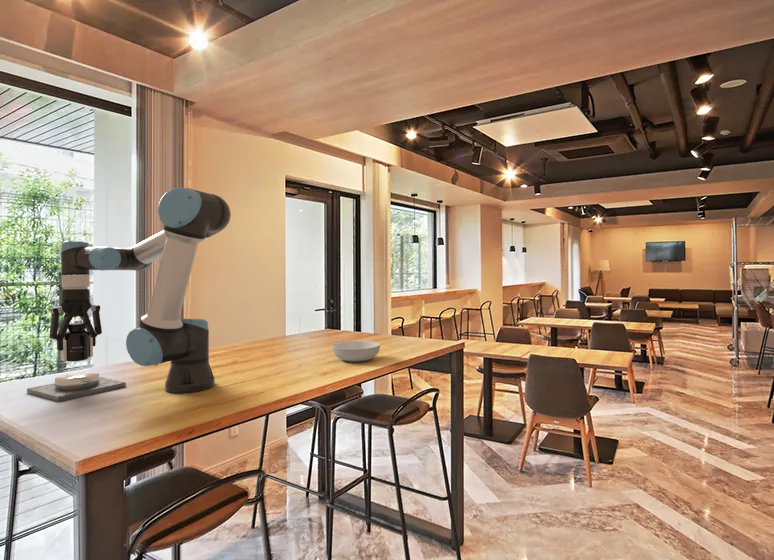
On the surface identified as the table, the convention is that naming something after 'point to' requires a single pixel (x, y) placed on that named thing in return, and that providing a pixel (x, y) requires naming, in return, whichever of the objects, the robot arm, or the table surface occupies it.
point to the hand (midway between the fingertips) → (77, 358)
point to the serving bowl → (356, 350)
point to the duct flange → (75, 386)
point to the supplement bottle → (77, 342)
